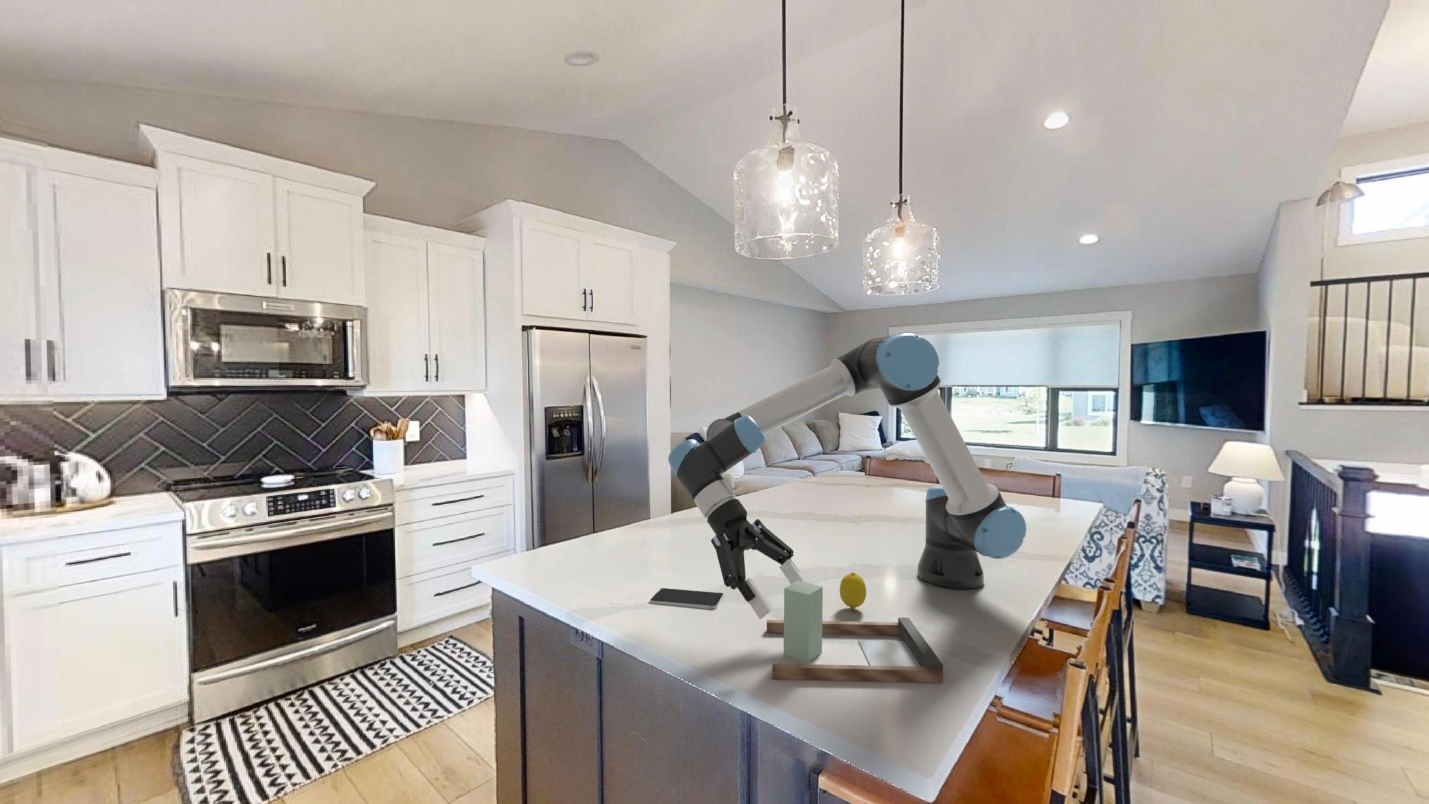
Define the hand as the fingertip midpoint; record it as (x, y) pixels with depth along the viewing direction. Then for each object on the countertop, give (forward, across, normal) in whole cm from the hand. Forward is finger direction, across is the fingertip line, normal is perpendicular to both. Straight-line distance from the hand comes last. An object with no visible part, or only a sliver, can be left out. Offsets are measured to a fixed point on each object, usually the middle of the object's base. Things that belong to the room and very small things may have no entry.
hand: (786, 603), depth 103 cm
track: (+13, -5, +1) cm, 14 cm away
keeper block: (+8, -1, -4) cm, 9 cm away
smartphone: (-14, -6, -28) cm, 32 cm away
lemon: (+7, -25, -5) cm, 26 cm away
